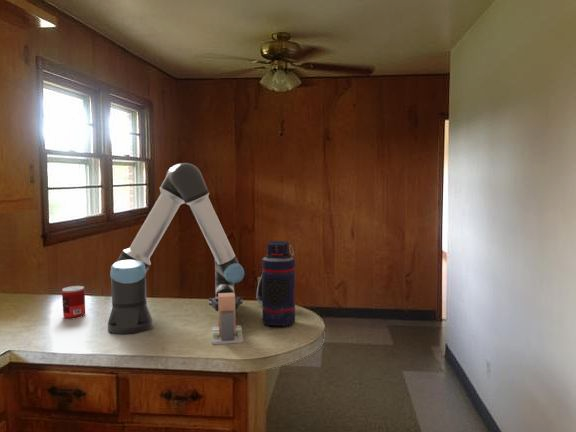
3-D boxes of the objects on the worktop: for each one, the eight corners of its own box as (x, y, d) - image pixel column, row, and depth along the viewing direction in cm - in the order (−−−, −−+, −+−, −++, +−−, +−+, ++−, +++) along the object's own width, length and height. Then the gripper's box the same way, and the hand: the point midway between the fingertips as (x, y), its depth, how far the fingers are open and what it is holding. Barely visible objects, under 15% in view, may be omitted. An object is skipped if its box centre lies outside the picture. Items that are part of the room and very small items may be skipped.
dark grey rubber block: (221, 341, 150) (221, 313, 149) (221, 338, 153) (220, 311, 152) (234, 340, 150) (233, 313, 150) (233, 337, 153) (233, 310, 152)
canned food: (89, 313, 184) (88, 285, 183) (78, 319, 176) (76, 290, 175) (70, 312, 185) (69, 285, 184) (59, 318, 177) (57, 290, 176)
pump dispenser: (281, 309, 187) (281, 272, 186) (255, 309, 187) (255, 272, 186) (282, 302, 197) (281, 267, 196) (257, 302, 197) (257, 267, 196)
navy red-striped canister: (291, 329, 163) (291, 244, 160) (258, 327, 165) (257, 244, 163) (298, 317, 176) (298, 239, 174) (268, 316, 179) (267, 238, 176)
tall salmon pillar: (212, 335, 154) (212, 297, 153) (213, 330, 159) (212, 293, 158) (241, 334, 155) (241, 296, 154) (240, 329, 160) (240, 292, 159)
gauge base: (212, 344, 149) (212, 338, 149) (212, 329, 164) (212, 323, 164) (243, 342, 151) (243, 336, 151) (240, 327, 166) (240, 321, 165)
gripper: (242, 304, 184) (246, 322, 161) (208, 305, 182) (207, 324, 159) (241, 285, 183) (245, 301, 160) (208, 286, 181) (207, 303, 158)
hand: (226, 313), depth 159 cm, fingers closed
